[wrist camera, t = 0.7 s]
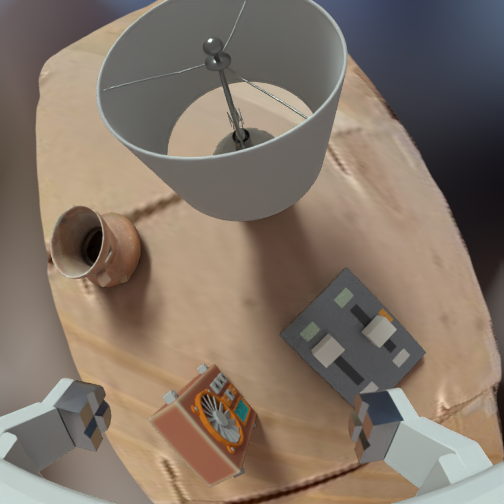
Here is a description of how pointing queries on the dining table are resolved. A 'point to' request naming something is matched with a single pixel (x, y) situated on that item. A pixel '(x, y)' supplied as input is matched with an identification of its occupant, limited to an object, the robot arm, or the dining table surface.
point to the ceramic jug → (95, 246)
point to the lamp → (221, 74)
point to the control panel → (207, 425)
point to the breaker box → (352, 339)
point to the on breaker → (327, 350)
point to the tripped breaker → (378, 331)
